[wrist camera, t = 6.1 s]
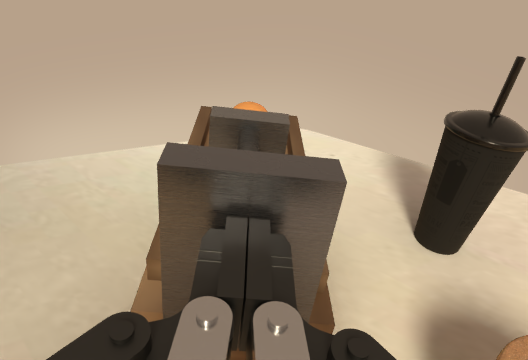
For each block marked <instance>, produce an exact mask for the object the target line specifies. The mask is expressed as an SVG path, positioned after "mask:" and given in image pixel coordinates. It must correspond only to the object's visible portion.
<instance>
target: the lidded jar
mask: <svg viewBox="0 0 528 360" xmlns="http://www.w3.org/2000/svg"><path fill="white" fill-rule="evenodd" d="M496 360H528V335H526V336H522V337H519V338H516V339H515V340H513V341H511V342H510V343H508V344H507V345H506V347H505V348H504V349H503V350H502V351H501V352H500V354H499V355H498V357H497V358H496Z"/></svg>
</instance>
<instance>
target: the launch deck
mask: <svg viewBox="0 0 528 360" xmlns="http://www.w3.org/2000/svg"><path fill="white" fill-rule="evenodd" d="M211 111H212V107H206V106H201V109H200V111H199V114H198V117H197V120H196V122H195V125H194V128H193V131H192V134H191V136H190V139H189V142H188V145H198V146H208V147H209V126H210V114H211ZM289 121H290V127H289V134H288V140H287V146H286V152H285V154H288V155H298V156H305V152H304V148H303V143H302V138H301V133H300V128H299V123H298V118H297V116H290V115H289ZM146 263H147V266H146V269H145V272H144V274H143V277H142V280H141V283H140V286H139V289H138V291H137V294H136V297H135V300H134V303H133V306H132V308H131V312H135V313H138V314H140V315H142V316H144V317H145V318H146V319H147V320H148V322H152V321H157V320H161V319H163V310H162V283H161V256H160V229H159V225H158V228H157V230H156V233H155V236H154V239H153V241H152V244H151V247H150V250H149V253H148V255H147V258H146ZM328 276H329V270H328V265H327V260H326V261H325V264H324V268H323V272H322V275H321V279H320V283H319V286H318V290H317V294H316V297H315V301H314V304H313V308H312V312H311V315H310V319H309V323H308V324H310V325H311V326H313V327H314V328H316V329H319V330H321V331H324V332H327V333H329V334H332V332H333V329H334V326H335V323H334V318H333V312H332V307H331V302H330V297H329V291H328V286H327V279H328ZM230 360H246V351H239V348H237V351H231V358H230Z"/></svg>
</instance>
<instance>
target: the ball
mask: <svg viewBox="0 0 528 360" xmlns="http://www.w3.org/2000/svg"><path fill="white" fill-rule="evenodd" d="M234 108H235V109H245V110H254V111H263V112H267V111H266V109H265V108H264V107H263V106H261V105H260V104H257V103H254V102H243V103H240V104H238V105H236V106H235V107H234Z"/></svg>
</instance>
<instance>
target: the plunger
mask: <svg viewBox="0 0 528 360" xmlns="http://www.w3.org/2000/svg"><path fill="white" fill-rule="evenodd" d="M289 127H290V121H289V115H288V114H282V113H273V112H263V111H254V110H245V109H235V108H225V107H217V106H213V107H212V111H211V114H210V126H209V147H208V146H198V145H188V144H178V143H167V144H166V146H165V148H164V150H163V153H162V155H161V157H160V159H159V161H158V163H157V174H158V201H159V229H160V256H161V283H162V310H163V319H165V318H169V317H171V316H174V315H175V314H177V313H179V312H180V311H181V310H182V309H183V308H184V307H185V306H186V305H187V303H188V301H189V299H190V295H191V290H192V285H193V280H194V275H195V270H196V265H197V261H198V255H199V250H200V245H201V240H202V237H203V236H204V235H205V234H206V232H207V231H208V230H209V229H210V228H213V229H224V230H225V226H226V218H227V215H234V216H246V217H248V219H247V230H248V222H249V217H258V218H269V219H270V231H271V234H283V235H284V236H285V237H286V239H287V240H288V242H289V243H290V245H291V253H292V263H293V274H294V284H295V295H296V305H297V309H298V312H299V313H300V315H301V317H302V318H303V319H304V320H305V321H306V322H307V323H309V319H310V315H311V312H312V308H313V304H314V301H315V297H316V294H317V290H318V286H319V283H320V279H321V275H322V272H323V268H324V264H325V261H326V257H327V253H328V250H329V246H330V242H331V239H332V235H333V231H334V228H335V224H336V221H337V217H338V213H339V210H340V206H341V202H342V199H343V195H344V191H345V188H346V184H347V181H346V178H345V175H344V173H343V170H342V167H341V164H340V161H339V160H338V159H328V158H318V157H308V156H298V155H288V154H285V152H286V146H287V140H288V134H289ZM239 340H240V329H239V337H238V345H237V348H239Z"/></svg>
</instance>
